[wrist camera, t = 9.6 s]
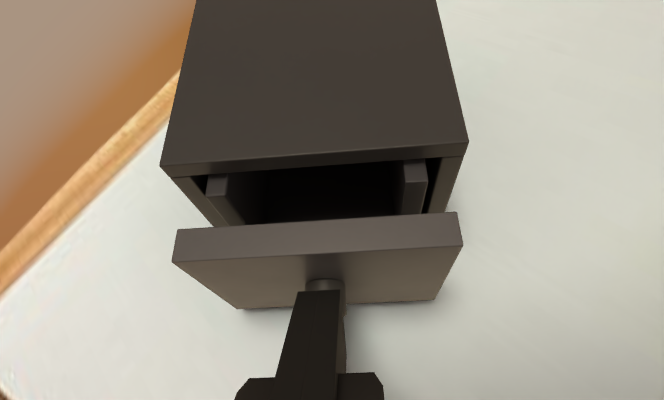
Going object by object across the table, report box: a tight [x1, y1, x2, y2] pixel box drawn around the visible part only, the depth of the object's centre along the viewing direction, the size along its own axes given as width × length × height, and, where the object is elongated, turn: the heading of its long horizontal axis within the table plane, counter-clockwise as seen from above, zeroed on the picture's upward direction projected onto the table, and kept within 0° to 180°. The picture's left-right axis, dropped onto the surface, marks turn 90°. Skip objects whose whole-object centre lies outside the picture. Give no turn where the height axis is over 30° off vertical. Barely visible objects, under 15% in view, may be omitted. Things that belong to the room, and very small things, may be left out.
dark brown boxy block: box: [160, 0, 469, 227], centre depth 20 cm, size 13×11×9 cm
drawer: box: [172, 158, 463, 317], centre depth 18 cm, size 13×9×7 cm
